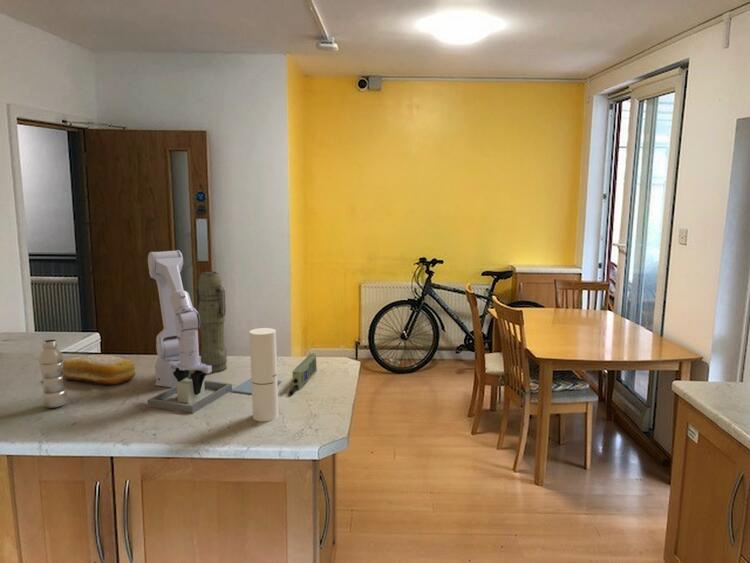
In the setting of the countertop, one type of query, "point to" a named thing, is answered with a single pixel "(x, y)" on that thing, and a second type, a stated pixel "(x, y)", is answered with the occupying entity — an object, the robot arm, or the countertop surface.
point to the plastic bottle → (52, 375)
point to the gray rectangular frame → (158, 403)
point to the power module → (188, 390)
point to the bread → (99, 369)
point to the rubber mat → (246, 387)
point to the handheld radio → (303, 372)
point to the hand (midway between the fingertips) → (191, 392)
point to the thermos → (212, 320)
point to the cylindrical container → (264, 374)
